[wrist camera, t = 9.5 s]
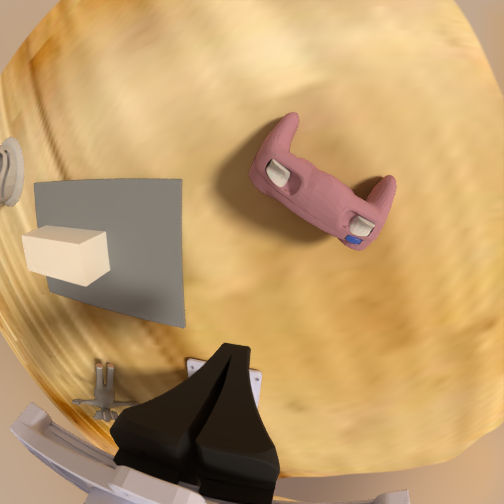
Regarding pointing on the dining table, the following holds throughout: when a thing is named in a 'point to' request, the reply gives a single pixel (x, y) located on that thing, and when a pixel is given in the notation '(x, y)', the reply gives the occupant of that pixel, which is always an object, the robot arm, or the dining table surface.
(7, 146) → the french press
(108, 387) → the grey toy figure
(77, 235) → the cream block
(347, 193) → the video game controller
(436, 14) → the dining table surface
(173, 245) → the slate mat
